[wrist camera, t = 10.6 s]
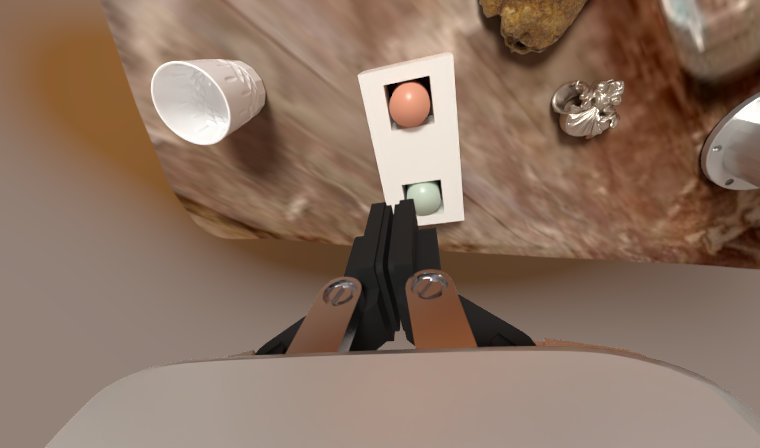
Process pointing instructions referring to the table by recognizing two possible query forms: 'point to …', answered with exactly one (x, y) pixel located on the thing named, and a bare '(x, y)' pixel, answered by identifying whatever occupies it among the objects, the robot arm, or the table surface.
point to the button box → (417, 135)
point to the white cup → (206, 97)
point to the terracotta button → (409, 103)
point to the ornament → (588, 106)
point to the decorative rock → (532, 21)
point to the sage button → (424, 196)
